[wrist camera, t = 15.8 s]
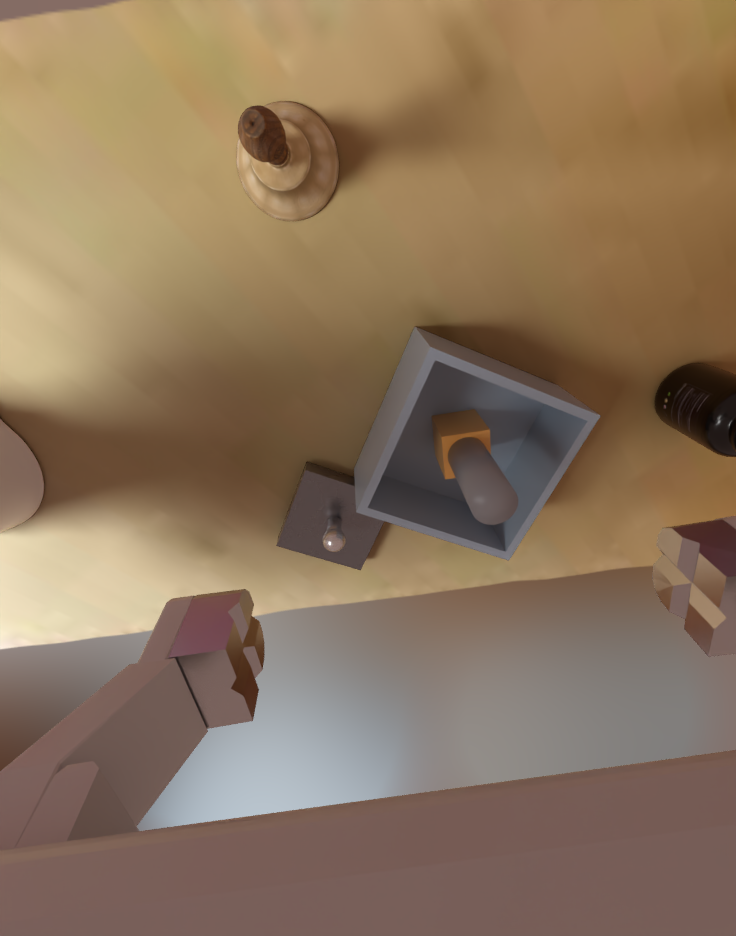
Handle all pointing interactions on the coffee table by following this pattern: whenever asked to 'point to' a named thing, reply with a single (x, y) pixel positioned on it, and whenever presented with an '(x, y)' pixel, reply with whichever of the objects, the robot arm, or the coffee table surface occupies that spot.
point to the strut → (473, 465)
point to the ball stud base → (328, 519)
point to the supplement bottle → (701, 406)
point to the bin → (511, 438)
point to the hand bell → (286, 160)
